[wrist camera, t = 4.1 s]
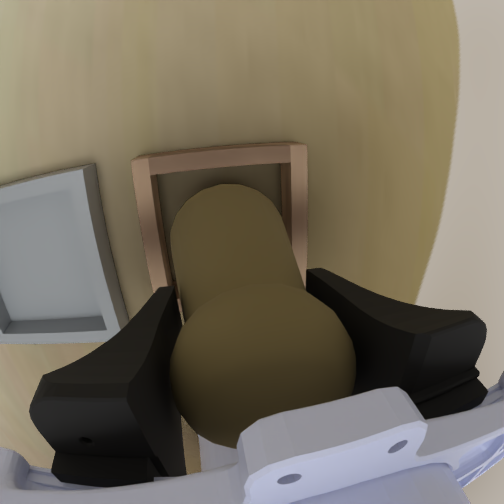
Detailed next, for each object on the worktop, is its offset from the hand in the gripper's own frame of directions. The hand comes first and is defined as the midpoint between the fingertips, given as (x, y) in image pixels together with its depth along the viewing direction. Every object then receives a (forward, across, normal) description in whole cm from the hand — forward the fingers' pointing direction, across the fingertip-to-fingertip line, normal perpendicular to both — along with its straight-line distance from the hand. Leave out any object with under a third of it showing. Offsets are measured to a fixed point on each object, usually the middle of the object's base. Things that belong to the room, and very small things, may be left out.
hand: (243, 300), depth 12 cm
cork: (+5, 0, -1) cm, 5 cm away
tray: (+10, +14, +1) cm, 17 cm away
